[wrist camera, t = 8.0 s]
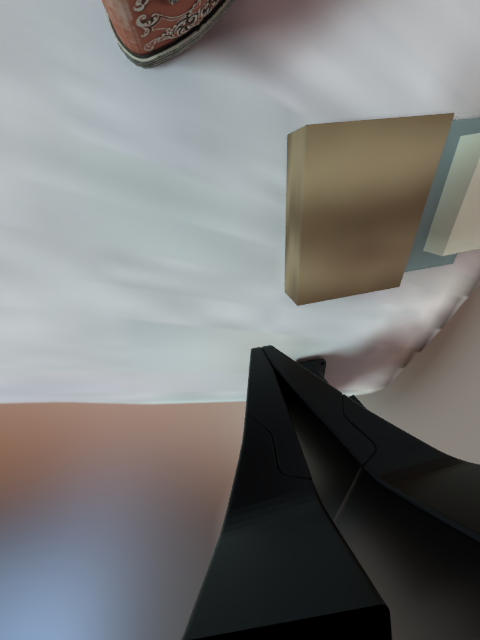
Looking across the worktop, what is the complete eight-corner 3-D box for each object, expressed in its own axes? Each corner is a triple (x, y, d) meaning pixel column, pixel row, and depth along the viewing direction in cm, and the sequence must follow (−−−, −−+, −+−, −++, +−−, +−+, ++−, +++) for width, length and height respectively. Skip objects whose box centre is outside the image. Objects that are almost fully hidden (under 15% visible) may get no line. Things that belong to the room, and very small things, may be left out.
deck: (375, 275, 23) (399, 286, 20) (284, 291, 22) (297, 305, 19) (413, 124, 17) (454, 113, 14) (287, 134, 15) (307, 124, 13)
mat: (450, 262, 24) (453, 263, 24) (375, 275, 23) (378, 276, 23) (512, 115, 18) (517, 114, 17) (413, 124, 17) (417, 123, 16)
